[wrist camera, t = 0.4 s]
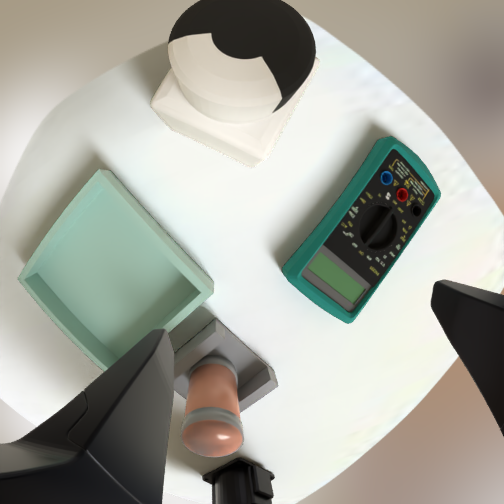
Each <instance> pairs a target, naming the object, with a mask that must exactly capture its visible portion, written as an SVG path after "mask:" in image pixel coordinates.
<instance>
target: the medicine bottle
mask: <svg viewBox="0 0 504 504" xmlns="http://www.w3.org/2000/svg"><path fill="white" fill-rule="evenodd" d="M168 55H169V60H170V63H171V66H172V67H171V68H170V70H169V72H168V73H167V75H166V76H165V78H164V79H163V81H162V83H161V84H160V86H159V88H158V89H157V91H156V93H155V94H154V96H153V98H152V99H151V102H150V106H151V108H152V109H153V110H154V111H155V112H156V114H157V115H158V116H159V117H160V118H161V119H162V120H163V121H164V122H165V124H166V125H167V126H168V127H169V128H170V129H171V130H172V131H174V132H177V133H179V134H181V135H183V136H185V137H187V138H190V139H192V140H194V141H196V142H198V143H200V144H202V145H204V146H206V147H209V148H211V149H213V150H215V151H217V152H219V153H221V154H223V155H225V156H227V157H229V158H231V159H233V160H235V161H237V162H239V163H241V164H243V165H245V166H247V167H249V168H254V167H255V166H257V165H258V164H260V163H261V162H263V161H264V160H266V159H267V158H268V157H269V155H270V154H271V152H272V150H273V148H274V146H275V144H276V142H277V141H278V139H279V137H280V135H281V133H282V131H283V130H284V128H285V126H286V124H287V122H288V121H289V119H290V117H291V115H292V113H293V112H294V110H295V108H296V106H297V104H298V103H299V101H300V99H301V97H302V95H303V94H304V92H305V90H306V88H307V87H308V85H309V83H310V81H311V79H312V78H313V76H314V74H315V72H316V71H317V69H318V67H319V65H320V61H319V59H318V58H317V57H315V55H316V47H315V41H314V37H313V34H312V32H311V29H310V27H309V26H308V24H307V22H306V21H305V20H304V18H303V17H302V16H301V15H300V14H299V13H298V12H297V11H296V10H295V9H294V8H292V7H291V6H290V5H288V4H287V3H285V2H283V1H281V0H200V1H198V2H197V3H195V4H194V5H192V6H191V7H190V8H188V9H187V10H186V11H185V12H184V13H183V14H182V15H181V16H180V18H179V19H178V20H177V21H176V23H175V25H174V27H173V28H172V31H171V34H170V37H169V42H168Z"/></svg>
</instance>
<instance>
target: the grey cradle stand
mask: <svg viewBox="0 0 504 504" xmlns="http://www.w3.org/2000/svg"><path fill="white" fill-rule="evenodd" d="M207 355H217V356H221V357H224V358H226V359H228V360H229V361H231V362H232V363H233V365H234V366H235V368H236V371H237V379H238V385H237V391H238V401H239V411H240V413H241V412H242V411H243V410H245V409H246V408H248V407H249V406H251V405H252V404H254V403H255V402H257V401H258V400H260V399H261V398H262V397H264V396H265V395H267V394H268V393H269V392H271V391H272V390H274V389H275V388H276V387H278V382H277V379H276V376H275V372H274V370H273V369H272V368H271V367H270V366H268V365H267V364H266V363H265V362H264V361H263V360H262V359H260V358H259V357H258V356H257V355H256V354H255V353H254V352H253V351H251V350H250V349H249V348H248V347H247V346H246V345H245V344H244V343H243V342H241V341H240V340H239V339H238V338H237V337H236V336H235V335H234V334H233V333H232V332H231V331H229V330H228V329H227V328H226V327H225V326H224V325H223V324H222V323H221V322H220V321H219V320H218V319H217V318H215V319H214V320H213V321H212V322H211V323H209V324H208V325H207V326H206V327H205V328H204V329H202V330H201V331H200V332H199V333H198V334H197V335H195V336H194V337H193V338H192V339H191V340H189V341H188V342H187V343H186V344H185V345H183V346H182V347H181V348H180V349H179V350H177V351H176V352H175V353H174V390H175V391H176V392H177V393H178V394H180V395H181V396H182V397H184V398H185V399H186V400H187V393H188V386H189V384H188V377H189V371H190V367H192V366H193V365H194V364H195V363H197V362H198V361H199V360H200V359H202V358H203V357H204V356H207Z"/></svg>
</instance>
